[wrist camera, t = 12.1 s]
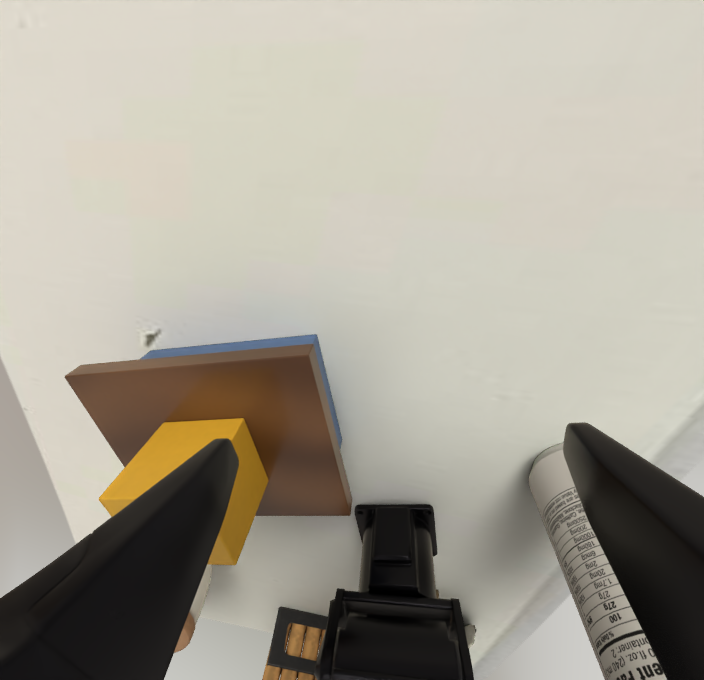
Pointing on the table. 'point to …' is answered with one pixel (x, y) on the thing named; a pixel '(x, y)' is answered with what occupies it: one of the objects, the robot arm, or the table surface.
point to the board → (231, 415)
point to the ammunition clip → (295, 645)
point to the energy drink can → (590, 574)
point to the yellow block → (178, 446)
